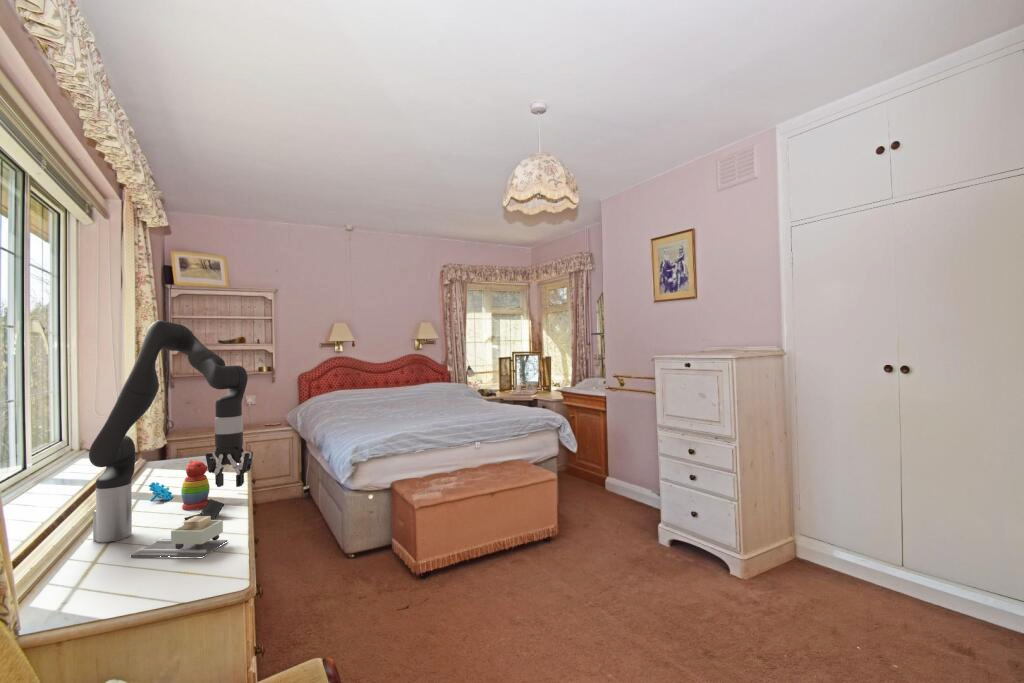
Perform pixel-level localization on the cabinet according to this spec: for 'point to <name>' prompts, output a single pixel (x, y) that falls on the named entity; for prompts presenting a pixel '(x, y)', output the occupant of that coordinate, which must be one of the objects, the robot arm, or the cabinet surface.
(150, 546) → the track
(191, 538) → the mint green tray
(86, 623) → the cabinet surface
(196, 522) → the block
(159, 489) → the blue bumpy figure
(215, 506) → the dark piece
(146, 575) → the cabinet surface
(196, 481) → the stacking bear
